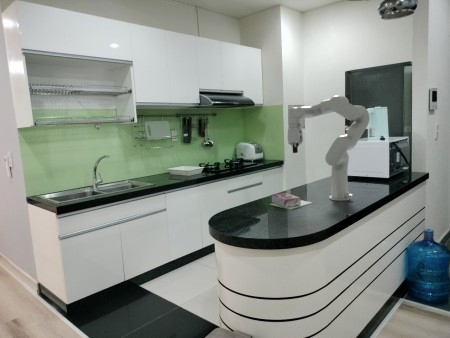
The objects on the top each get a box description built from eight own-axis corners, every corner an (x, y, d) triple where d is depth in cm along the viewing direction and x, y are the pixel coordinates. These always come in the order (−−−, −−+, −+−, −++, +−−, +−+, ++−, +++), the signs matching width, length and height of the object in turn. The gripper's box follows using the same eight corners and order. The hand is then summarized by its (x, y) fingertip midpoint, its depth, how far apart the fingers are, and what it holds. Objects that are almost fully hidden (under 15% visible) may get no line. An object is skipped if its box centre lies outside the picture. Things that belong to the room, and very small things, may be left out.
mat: (312, 203, 209) (312, 202, 209) (290, 209, 197) (290, 208, 197) (291, 198, 222) (291, 198, 222) (269, 204, 210) (269, 204, 210)
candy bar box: (286, 192, 218) (301, 197, 203) (286, 199, 218) (301, 205, 203) (271, 194, 214) (284, 199, 199) (271, 202, 214) (284, 208, 199)
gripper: (307, 125, 228) (307, 152, 230) (289, 126, 239) (290, 151, 242) (299, 126, 223) (300, 153, 225) (282, 126, 234) (283, 152, 237)
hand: (295, 152), depth 234 cm, fingers closed
